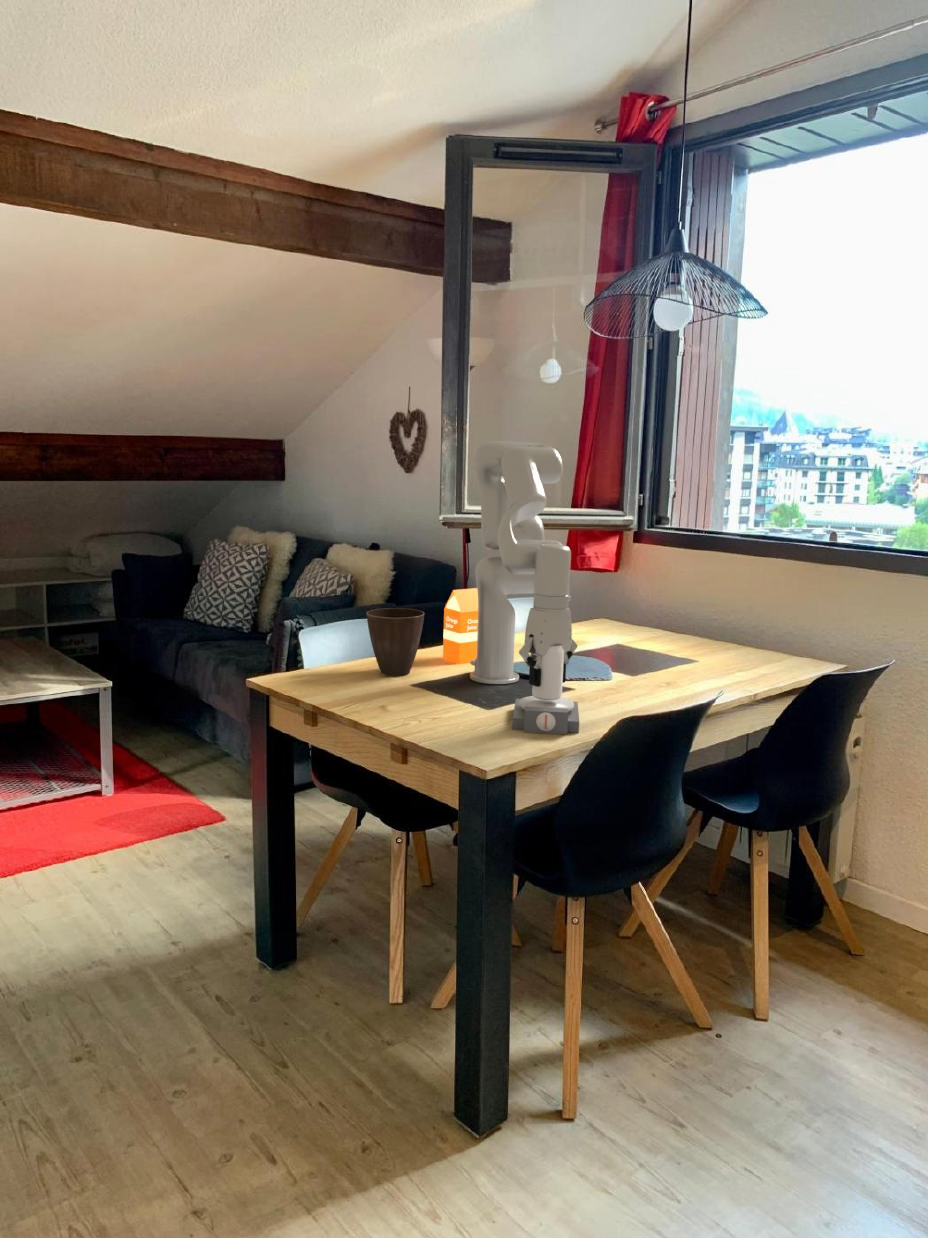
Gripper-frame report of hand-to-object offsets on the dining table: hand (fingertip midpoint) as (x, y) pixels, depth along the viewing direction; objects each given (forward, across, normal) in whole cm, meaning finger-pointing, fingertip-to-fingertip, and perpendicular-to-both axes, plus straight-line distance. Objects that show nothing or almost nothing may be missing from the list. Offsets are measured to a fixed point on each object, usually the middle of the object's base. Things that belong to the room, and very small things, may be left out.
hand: (547, 682), depth 207 cm
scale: (+8, +1, +1) cm, 9 cm away
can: (+3, 0, 0) cm, 3 cm away
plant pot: (+9, +6, -53) cm, 54 cm away
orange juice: (+9, -19, -57) cm, 61 cm away
